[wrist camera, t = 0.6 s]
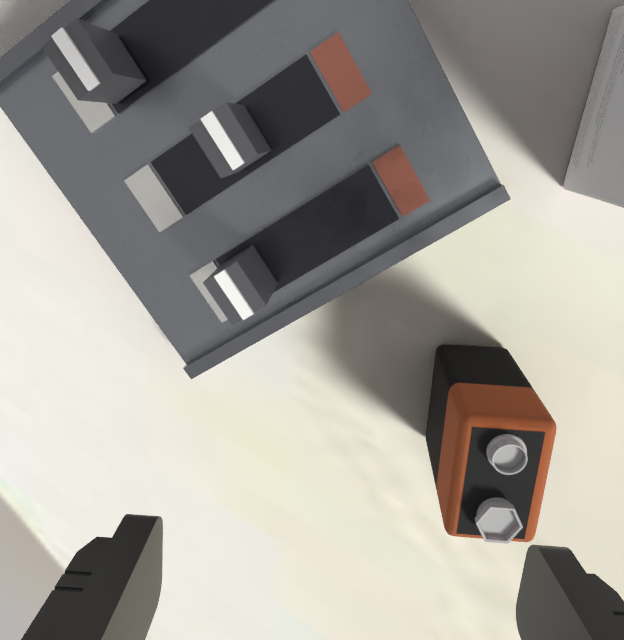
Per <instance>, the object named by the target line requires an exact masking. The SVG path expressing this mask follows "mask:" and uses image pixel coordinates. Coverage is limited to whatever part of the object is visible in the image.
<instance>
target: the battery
mask: <svg viewBox="0 0 624 640" xmlns="http://www.w3.org/2000/svg"><path fill="white" fill-rule="evenodd" d="M555 434H556V423H555V421H554V420H553V418H552V417H551V415H550V414H549V412H548V411H547V409H546V408H545V406H544V405H543V403H542V401H541V400H540V398H539V397H538V395H537V394H536V392H535V391H534V389H533V388H532V386H531V385H530V383H529V382H528V380H527V379H526V377H525V376H524V374H523V373H522V371H521V370H520V368H519V367H518V365H517V364H516V362H515V360H514V359H513V357H512V356H511V354H510V353H509V352H508V350H506V349H504V348H493V347H477V346H461V345H440V346H439V347H438V348H437V350H436V354H435V362H434V371H433V379H432V388H431V396H430V405H429V414H428V422H427V431H426V442H427V447H428V451H429V456H430V461H431V466H432V470H433V475H434V480H435V485H436V489H437V494H438V499H439V504H440V508H441V513H442V518H443V523H444V527H445V530H446V532H447V533H448V534H449V535H451V536H459V537H471V538H483V539H484V541H485V542H497V543H509V542H510V541H518V542H529V541H531V540H532V539H533V538H534V536H535V532H536V528H537V523H538V518H539V513H540V508H541V503H542V498H543V494H544V489H545V484H546V479H547V474H548V469H549V464H550V459H551V454H552V449H553V444H554V439H555Z"/></svg>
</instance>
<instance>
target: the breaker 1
mask: <svg viewBox="0 0 624 640" xmlns="http://www.w3.org/2000/svg"><path fill="white" fill-rule="evenodd" d="M51 37H52V38H51V39H50V40H49V41H48V42H46V43H45V44H44V45H43V46H41V47H42V48H43V50H44V51H45V53H46V54H47V56H48V57H49V59H50V60H51V62H52V63H53V65H54V66H55V67H56V69H57V70H58V72H59V73H60V75H61V76H62V78H63V79H64V81H65V82H66V84H67V85H68V86H69V88H70V89H71V91H72V92H73V94H74V95H75V97H76V98H77V100H80V101H91V102H102V103H112V104H116V103H118V102H119V101H120V100H122V99H123V98H124V97H126V96H127V95H128V94H130V93H131V92H132V91H134V90H135V89H137V88H138V87H139V86H141V85H142V84H143V83H145V82H146V81H147V80H146V79H145V77H144V76H143V74H142V73H141V71H140V69H139V68H138V66H137V65H136V63H135V62H134V60H133V59H132V57H131V56H130V54H129V52H128V51H127V49H126V48H125V46H124V45H123V43H122V42H121V40H120V39H119V37H118V35H117V34H116V33H114V32H112V31H109V30H106V29H104V28H101V27H98V26H96V25H93V24H91V23H88V22H85V21H83V20H80V19H77V18H76V19H75V20H74V21H72V22H71V23H70V24H69V25H67V26H66V27H65V28H60V29H59V30H58V31H57V32H55V33H54V34H53V35H52V36H51Z"/></svg>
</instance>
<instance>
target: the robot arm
mask: <svg viewBox="0 0 624 640" xmlns="http://www.w3.org/2000/svg"><path fill="white" fill-rule="evenodd" d="M162 540H163V523H162V518H161V517H159V516H146V515H132V514H126V515H125V516H124V518H123V519H122V521H121V523H120V525H119V526H118V528H117V530H116V532H115V533H114V535H113V537H112V538H107V537H96V538H95V539H93V540H92V541H91V542H89V543H88V544H87V545H85V546H84V547H83V548H82V549H80V550H79V551H78V552H77V553H76V554H75V556H74V557H73V559H72V561H71V562H70V564H69V565H68V567H67V568H66V570H65V574H64V575H62V576H61V578H60V579H59V581H58V583H57V584H56V586H55V590H53V591H52V592H51V594H50V595H49V597H48V598H47V600H46V602H45V603H44V605H43V606H42V608H41V609H40V611H39V612H38V614H37V616H36V617H35V619H34V620H33V622H32V623H31V625H30V627H29V628H28V630H27V631H26V633H25V634H24V636H23V638H22V639H21V640H145V638H146V636H147V633H148V630H149V627H150V625H151V622H152V619H153V617H154V614H155V611H156V608H157V605H158V601H159V596H160V591H161V584H162ZM516 620H517V627H518V631H519V635H520V637H521V640H624V601H623V600H622V598H621V597H620V596H619V594H618V593H617V592H616V591H615V590H614V589H612V588H611V587H610V586H609V585H607V584H606V583H605V582H604V581H603V580H601V579H600V578H599V577H598V576H597V575H595V574H587V573H586V572H585V570H584V569H583V568H582V566H581V565H580V563H579V562H578V560H577V559H576V557H575V556H574V554H573V553H572V551H571V550H570V549H569V548H567V547H555V546H542V545H531V546H530V547H529V548H528V551H527V554H526V559H525V564H524V569H523V573H522V578H521V583H520V588H519V593H518V598H517V604H516Z"/></svg>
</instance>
